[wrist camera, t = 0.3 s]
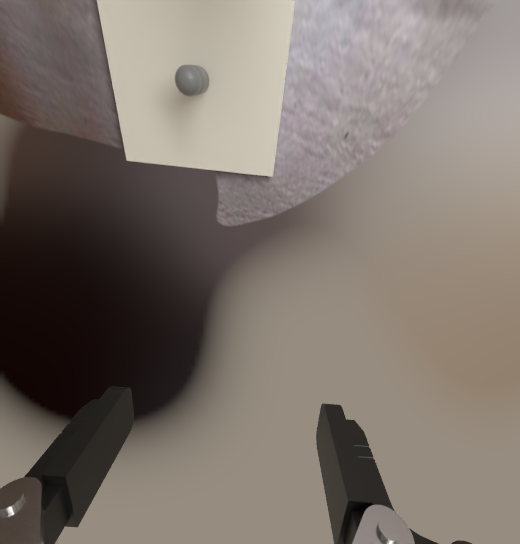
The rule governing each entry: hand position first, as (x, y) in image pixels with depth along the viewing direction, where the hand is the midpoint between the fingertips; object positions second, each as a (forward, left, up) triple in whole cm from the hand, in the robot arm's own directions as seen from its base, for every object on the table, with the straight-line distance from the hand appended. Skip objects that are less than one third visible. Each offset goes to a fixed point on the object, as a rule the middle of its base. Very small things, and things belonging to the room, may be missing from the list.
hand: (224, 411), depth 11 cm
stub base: (-12, +2, -30) cm, 32 cm away
